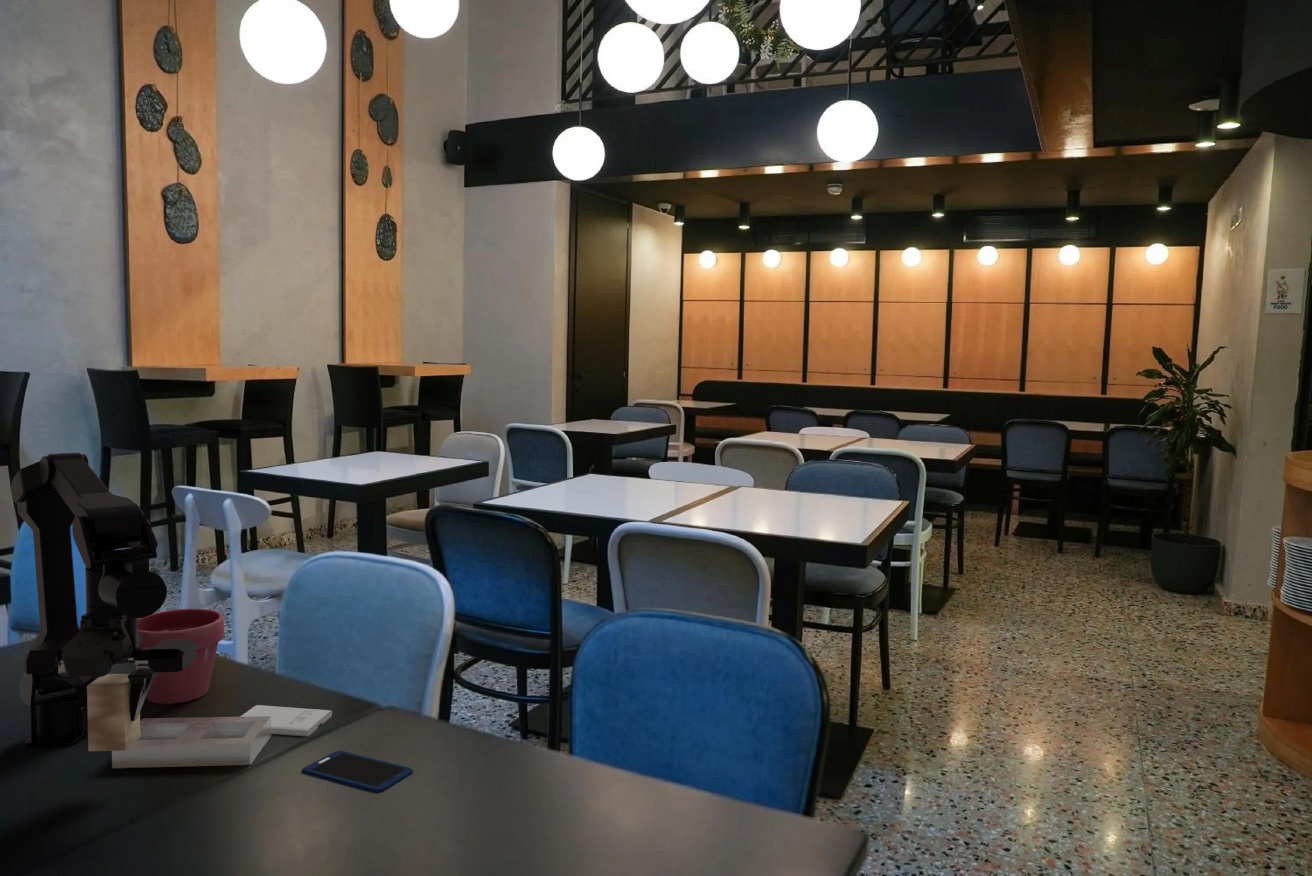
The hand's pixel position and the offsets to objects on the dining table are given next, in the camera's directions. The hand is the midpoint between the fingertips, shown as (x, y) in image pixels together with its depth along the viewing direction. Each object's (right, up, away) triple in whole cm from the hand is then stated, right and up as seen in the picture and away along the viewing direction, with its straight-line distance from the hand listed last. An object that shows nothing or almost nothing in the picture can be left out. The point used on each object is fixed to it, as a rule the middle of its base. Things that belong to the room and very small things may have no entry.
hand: (114, 720), depth 118 cm
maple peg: (0, -3, 0) cm, 3 cm away
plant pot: (-10, -6, +34) cm, 36 cm away
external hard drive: (+12, -8, +23) cm, 28 cm away
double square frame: (+4, -8, +12) cm, 16 cm away
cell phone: (+29, -10, +8) cm, 32 cm away
